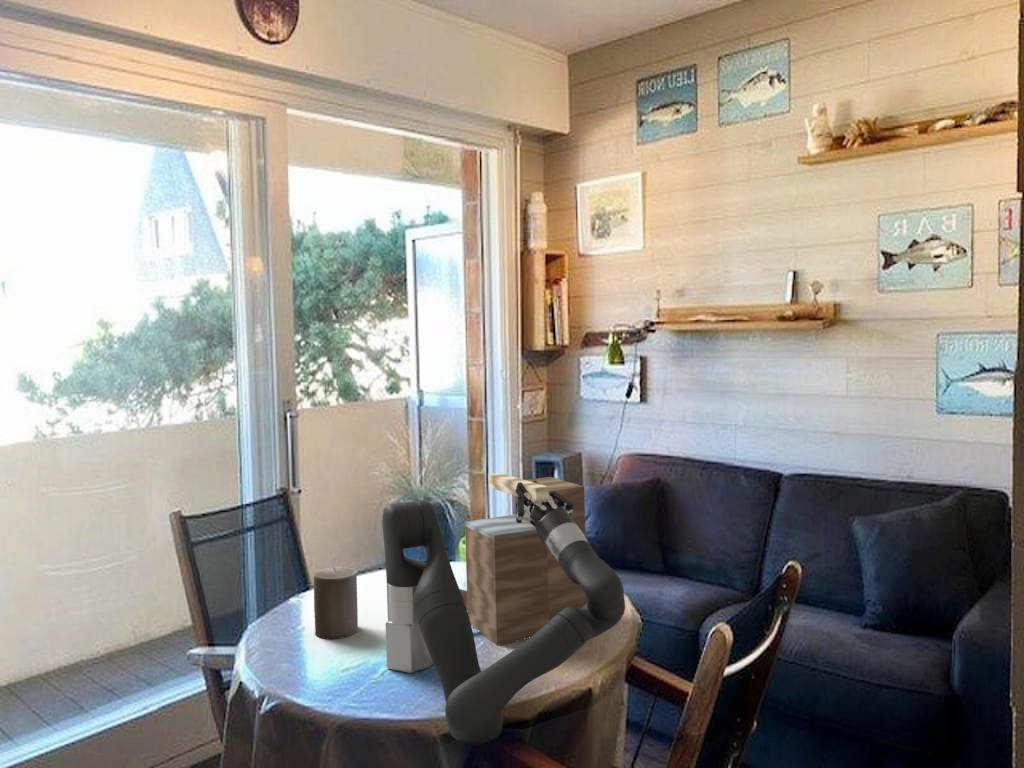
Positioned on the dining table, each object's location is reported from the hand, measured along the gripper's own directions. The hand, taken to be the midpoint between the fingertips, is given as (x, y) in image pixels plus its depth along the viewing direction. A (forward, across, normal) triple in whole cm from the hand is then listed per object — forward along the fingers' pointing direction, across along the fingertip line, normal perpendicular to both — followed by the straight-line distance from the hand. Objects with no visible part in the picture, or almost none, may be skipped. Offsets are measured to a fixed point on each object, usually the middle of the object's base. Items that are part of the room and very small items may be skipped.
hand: (526, 485), depth 174 cm
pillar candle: (+8, -34, -44) cm, 57 cm away
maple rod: (+2, 0, -4) cm, 5 cm away
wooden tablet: (+15, -2, -49) cm, 51 cm away
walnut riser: (-9, +4, -34) cm, 36 cm away
